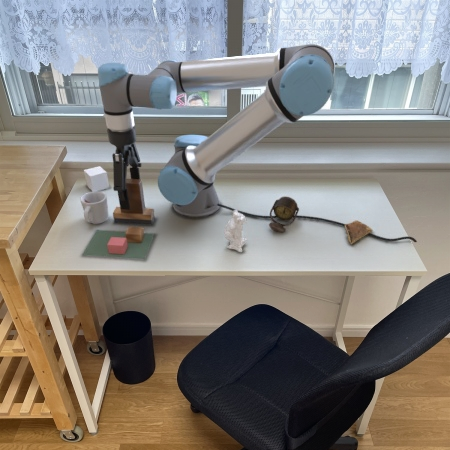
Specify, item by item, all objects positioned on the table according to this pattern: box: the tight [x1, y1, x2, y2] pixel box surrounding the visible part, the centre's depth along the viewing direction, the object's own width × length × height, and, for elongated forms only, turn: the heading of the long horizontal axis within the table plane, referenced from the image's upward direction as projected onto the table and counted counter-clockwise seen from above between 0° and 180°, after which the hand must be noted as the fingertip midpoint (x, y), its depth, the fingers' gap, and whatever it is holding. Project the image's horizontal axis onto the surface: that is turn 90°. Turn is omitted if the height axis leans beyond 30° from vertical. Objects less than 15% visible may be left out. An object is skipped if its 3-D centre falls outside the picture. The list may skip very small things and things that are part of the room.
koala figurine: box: [223, 209, 248, 253], centre depth 125 cm, size 8×7×12 cm
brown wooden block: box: [112, 178, 156, 226], centre depth 135 cm, size 12×4×14 cm, turn 84°
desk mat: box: [82, 229, 156, 260], centre depth 129 cm, size 18×13×1 cm
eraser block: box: [107, 237, 128, 254], centre depth 126 cm, size 4×4×3 cm
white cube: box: [83, 165, 110, 192], centre depth 155 cm, size 6×6×6 cm
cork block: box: [125, 226, 145, 243], centre depth 130 cm, size 4×4×3 cm
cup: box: [79, 191, 109, 225], centre depth 136 cm, size 11×8×8 cm
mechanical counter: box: [268, 196, 300, 233], centre depth 137 cm, size 7×13×10 cm
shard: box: [344, 220, 373, 245], centre depth 134 cm, size 11×8×2 cm
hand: (131, 198), depth 134 cm, fingers open, 13 cm apart
